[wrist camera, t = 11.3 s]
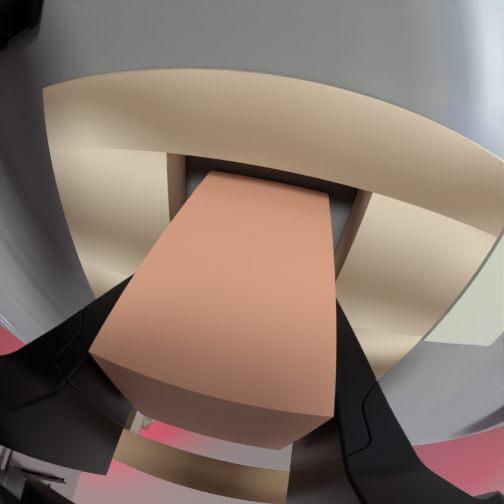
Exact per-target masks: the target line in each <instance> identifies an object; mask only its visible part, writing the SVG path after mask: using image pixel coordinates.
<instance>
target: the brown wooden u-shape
mask: <svg viewBox="0 0 504 504" xmlns="http://www.w3.org/2000/svg"><path fill="white" fill-rule="evenodd" d="M137 411H138V410H137V409H136V408H135V407H134V406H132V408H131V411H130V413H129V416H128V418H127V421H126V423H125V426H123V427H124V429H123V431H122V434H121V437H120V439H119V442H118V444H117V447H116V450H115V452H114V455H113V459H115V460H117V461H119V462H121V463H124V464H126V465H128V466H131V467H133V468H135V469H137V470H140V471H142V472H145V473H147V474H150V475H152V476H155V477H158V478H161V479H164V480H166V481H169V482H172V483H175V484H179V485H182V486H186V487H189V488H192V489H196V490H200V491H204V492H208V493H212V494H217V495H221V496H225V497H231V498H236V499H243V500H248V501H256V502H263V503H272V504H285V502H286V495H287V488H288V480H289V472H287V471H278V470H271V469H263V468H256V467H251V466H245V465H240V464H234V463H230V462H225V461H221V460H216V459H212V458H208V457H204V456H201V455H197V454H193V453H190V452H187V451H183V450H180V449H177V448H174V447H171V446H168V445H165V444H162V443H159V442H156V441H154V440H151V439H149V438H146V437H143V436H141V435H139V434H136V433H134V432H131V431H130V429H131V426H132V424H133V421H134V418H135V416H136V413H137Z"/></svg>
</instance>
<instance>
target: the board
mask: <svg viewBox="0 0 504 504" xmlns="http://www.w3.org/2000/svg"><path fill="white" fill-rule="evenodd" d="M43 103H44V114H45V123H46V131H47V138H48V144H49V150H50V156H51V161H52V166H53V171H54V175H55V180H56V184H57V188H58V192H59V196H60V200H61V204H62V207H63V211H64V214H65V218H66V221H67V224H68V227H69V231H70V234H71V237H72V240H73V243H74V246H75V248H76V251H77V254H78V257H79V259H80V262H81V265H82V267H83V270H84V272H85V275H86V277H87V280H88V282H89V284H90V287H91V289H92V291H93V294H94V296H95V298H96V299H97V298H98V297H100V296H101V295H103V294H104V293H106V292H107V291H109V290H110V289H112V288H113V287H115V286H116V285H118V284H119V283H120V282H122V281H123V280H125V279H126V278H128V277H129V276H131V275H133V274H134V273H136V271H137V270H138V268H139V267H140V265H141V264H142V262H143V261H144V259H145V258H146V256H147V255H148V254H149V252H150V251H151V249H152V248H153V246H154V245H155V243H156V242H157V241H158V239H159V238H160V236H161V235H162V234H163V232H164V231H165V229H166V228H167V227H168V225H169V224H170V223H171V221H172V220H173V218H174V217H175V216H176V214H177V213H178V212H179V210H180V209H181V208H182V206H183V205H184V204H185V203H186V155H191V156H199V157H207V158H214V159H221V160H228V161H234V162H240V163H246V164H252V165H257V166H263V167H268V168H273V169H278V170H283V171H288V172H293V173H298V174H302V175H307V176H311V177H316V178H320V179H324V180H328V181H332V182H336V183H340V184H344V185H348V186H352V187H355V188H359V189H358V192H357V195H356V198H355V200H354V203H353V206H352V209H351V212H350V215H349V217H348V220H347V223H346V225H345V228H344V231H343V233H342V236H341V239H340V241H339V244H338V246H337V249H336V252H335V254H334V269H335V291H336V298H337V300H338V302H339V304H340V305H341V307H342V309H343V311H344V313H345V315H346V317H347V319H348V321H349V323H350V325H351V327H352V329H353V331H354V333H355V335H356V337H357V339H358V341H359V343H360V345H361V347H362V349H363V351H364V353H365V355H366V357H367V359H368V361H369V363H370V366H371V368H372V370H373V372H374V374H375V376H376V380H379V379H380V378H381V377H382V376H383V375H384V374H385V373H386V372H388V371H389V370H390V369H391V368H392V367H393V366H394V365H395V364H396V363H397V362H398V361H399V360H401V359H402V358H403V357H404V356H405V355H406V354H407V353H408V352H409V351H410V350H411V349H412V348H413V347H414V346H415V345H416V344H417V343H418V342H419V341H420V339H421V338H422V337H423V336H424V335H425V334H426V333H427V332H428V331H429V330H430V329H431V328H432V326H433V325H434V324H435V323H436V322H437V321H438V320H439V319H440V317H441V316H442V315H443V314H444V313H445V311H446V310H447V309H448V308H449V307H450V305H451V304H452V303H453V302H454V300H455V299H456V298H457V297H458V295H459V294H460V293H461V291H462V290H463V289H464V287H465V286H466V285H467V283H468V282H469V281H470V279H471V278H472V276H473V275H474V274H475V272H476V271H477V269H478V268H479V266H480V265H481V263H482V262H483V260H484V259H485V257H486V256H487V254H488V253H489V251H490V249H491V248H492V246H493V244H494V243H495V241H496V239H497V238H498V236H499V234H500V233H501V231H502V229H503V227H504V160H502V159H501V158H499V157H498V156H496V155H494V154H493V153H491V152H490V151H488V150H487V149H485V148H483V147H482V146H480V145H478V144H476V143H475V142H473V141H471V140H469V139H468V138H466V137H464V136H462V135H460V134H458V133H457V132H455V131H453V130H451V129H449V128H447V127H445V126H443V125H441V124H438V123H436V122H434V121H432V120H430V119H428V118H425V117H423V116H421V115H418V114H416V113H414V112H411V111H409V110H406V109H404V108H401V107H399V106H396V105H393V104H391V103H388V102H385V101H382V100H379V99H376V98H373V97H370V96H367V95H364V94H361V93H357V92H354V91H350V90H347V89H343V88H339V87H336V86H332V85H328V84H323V83H319V82H315V81H310V80H305V79H300V78H295V77H289V76H283V75H277V74H270V73H263V72H254V71H245V70H234V69H219V68H154V69H140V70H129V71H120V72H112V73H105V74H98V75H92V76H87V77H81V78H77V79H72V80H68V81H64V82H61V83H58V84H55V85H51V86H48V87H45V88H43Z"/></svg>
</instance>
